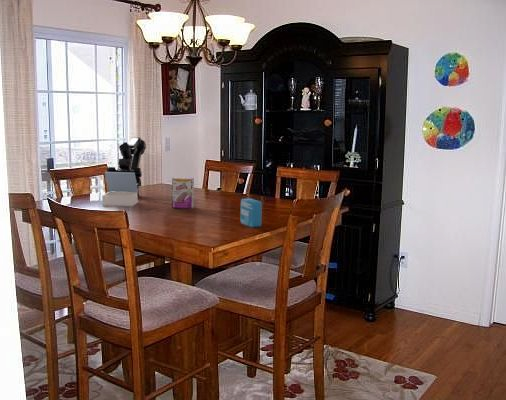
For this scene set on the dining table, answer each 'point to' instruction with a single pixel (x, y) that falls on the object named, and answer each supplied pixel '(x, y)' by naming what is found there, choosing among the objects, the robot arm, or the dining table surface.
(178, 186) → the candy bar box
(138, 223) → the dining table surface
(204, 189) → the dining table surface
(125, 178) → the lid
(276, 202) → the dining table surface
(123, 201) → the storage box
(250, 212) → the data package
